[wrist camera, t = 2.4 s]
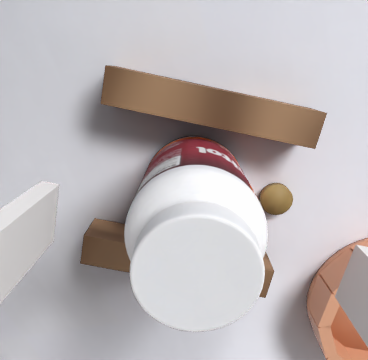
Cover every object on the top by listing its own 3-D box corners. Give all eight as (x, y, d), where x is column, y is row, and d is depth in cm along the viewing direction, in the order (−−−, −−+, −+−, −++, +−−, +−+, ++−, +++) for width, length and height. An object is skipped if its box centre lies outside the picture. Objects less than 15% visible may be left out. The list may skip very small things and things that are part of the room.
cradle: (91, 244, 23) (80, 263, 21) (115, 66, 20) (105, 65, 17) (264, 276, 24) (272, 299, 22) (318, 110, 20) (335, 115, 18)
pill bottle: (260, 186, 22) (326, 290, 11) (188, 240, 23) (187, 378, 13) (199, 112, 21) (211, 154, 10) (126, 175, 22) (69, 269, 11)
